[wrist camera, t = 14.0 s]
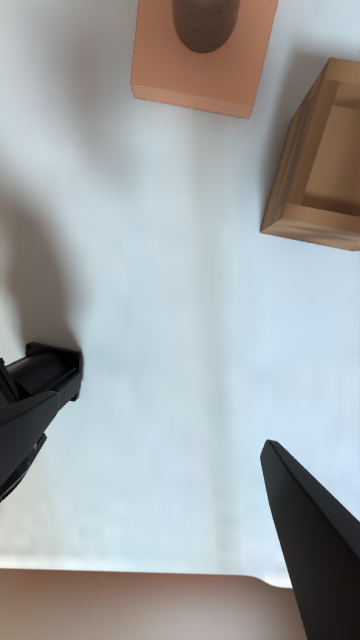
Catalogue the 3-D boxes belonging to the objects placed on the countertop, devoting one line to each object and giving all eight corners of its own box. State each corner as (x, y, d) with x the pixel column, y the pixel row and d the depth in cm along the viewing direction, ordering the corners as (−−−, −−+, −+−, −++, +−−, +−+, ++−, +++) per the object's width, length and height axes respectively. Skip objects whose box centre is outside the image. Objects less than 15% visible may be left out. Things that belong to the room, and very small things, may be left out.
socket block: (259, 232, 18) (281, 218, 13) (291, 119, 16) (329, 57, 11) (353, 251, 17) (407, 242, 13) (398, 139, 15) (480, 84, 11)
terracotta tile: (134, 97, 16) (130, 83, 15) (153, -71, 14) (149, -103, 12) (248, 118, 16) (253, 106, 15) (287, -48, 13) (296, -79, 12)
